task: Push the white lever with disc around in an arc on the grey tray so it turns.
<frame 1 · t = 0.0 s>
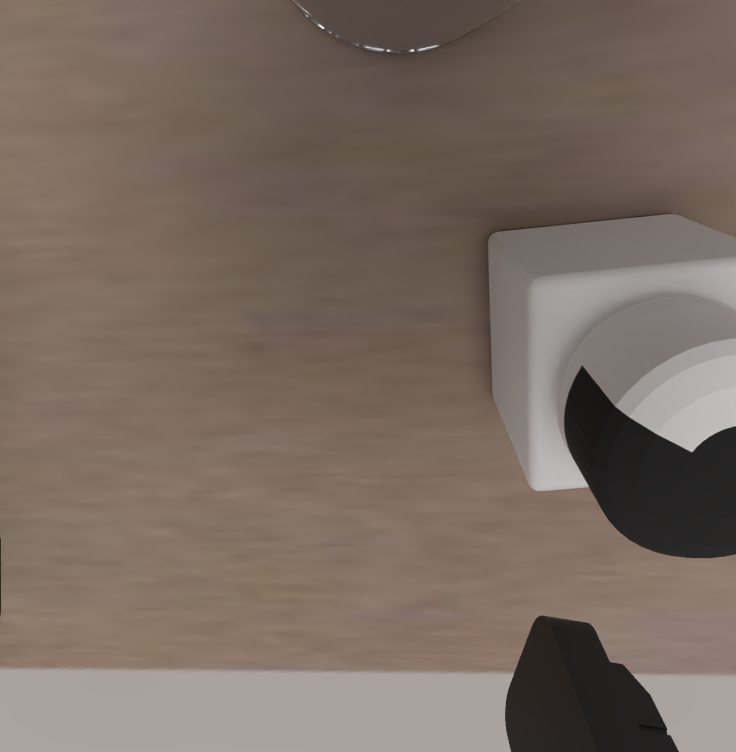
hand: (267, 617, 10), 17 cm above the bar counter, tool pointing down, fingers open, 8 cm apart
medicine bottle: (577, 309, 26), on the bar counter
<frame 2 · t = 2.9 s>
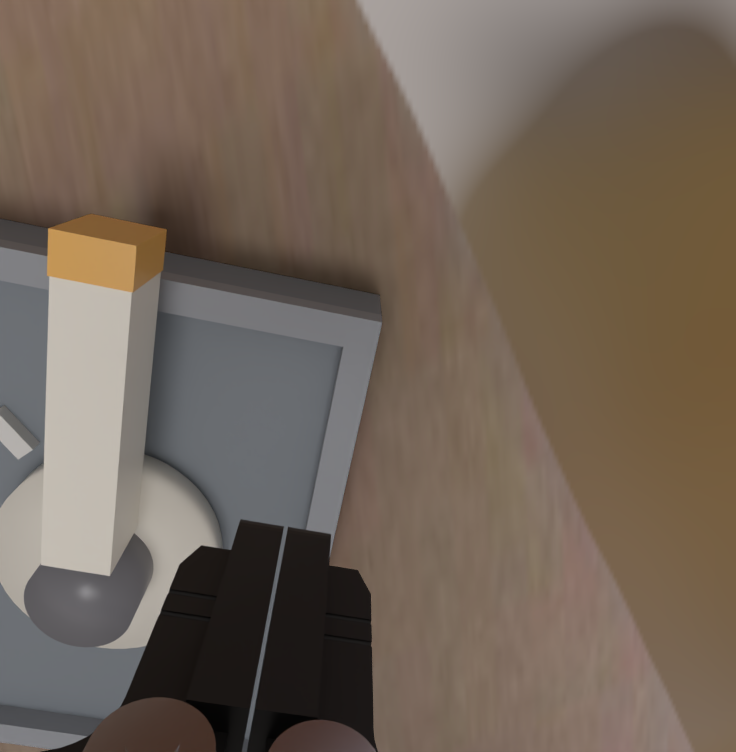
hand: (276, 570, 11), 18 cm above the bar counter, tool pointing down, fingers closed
grey tray: (140, 500, 31), on the bar counter
white lever with disc: (103, 472, 24), point 5 cm above the bar counter, hinge at 0.0°
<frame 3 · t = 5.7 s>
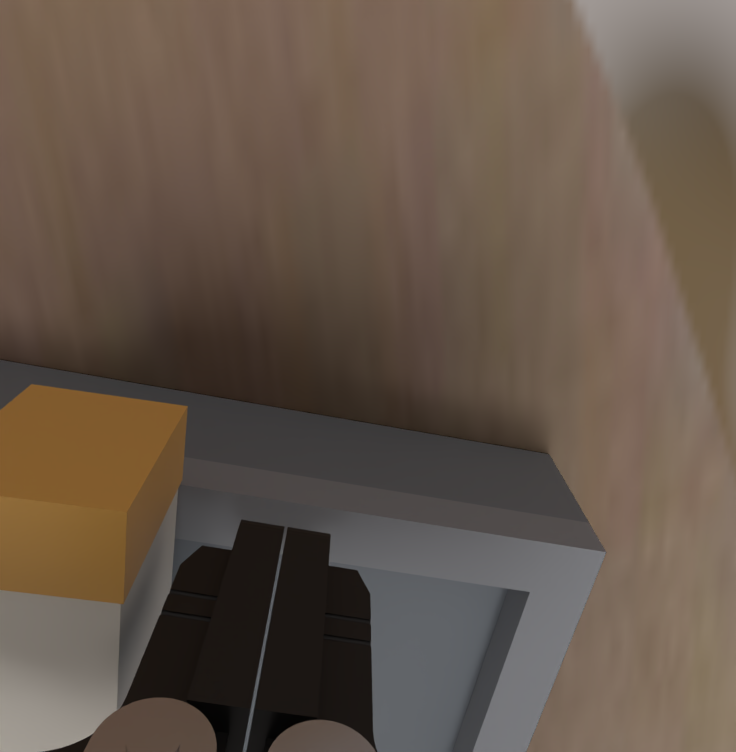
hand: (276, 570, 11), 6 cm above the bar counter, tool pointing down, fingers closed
grey tray: (152, 746, 20), on the bar counter
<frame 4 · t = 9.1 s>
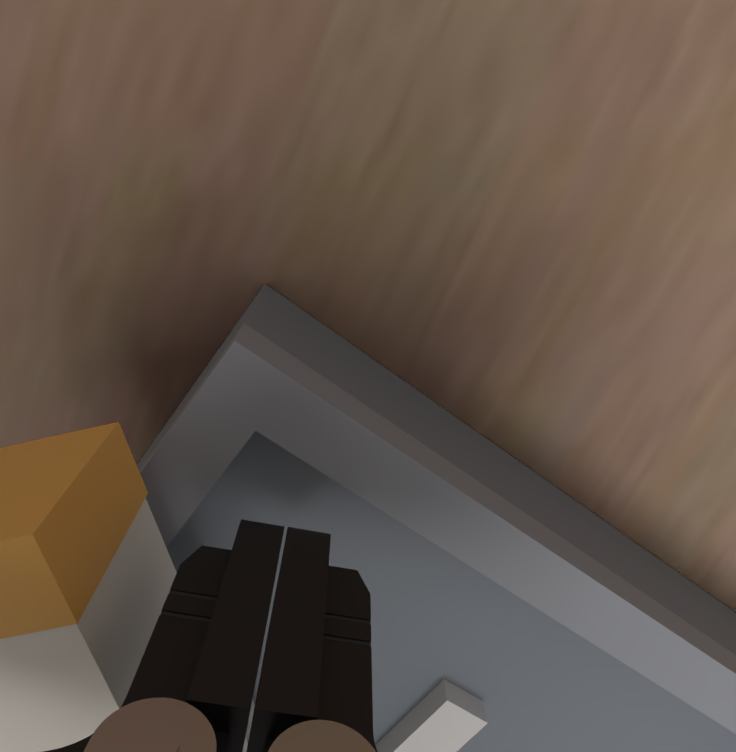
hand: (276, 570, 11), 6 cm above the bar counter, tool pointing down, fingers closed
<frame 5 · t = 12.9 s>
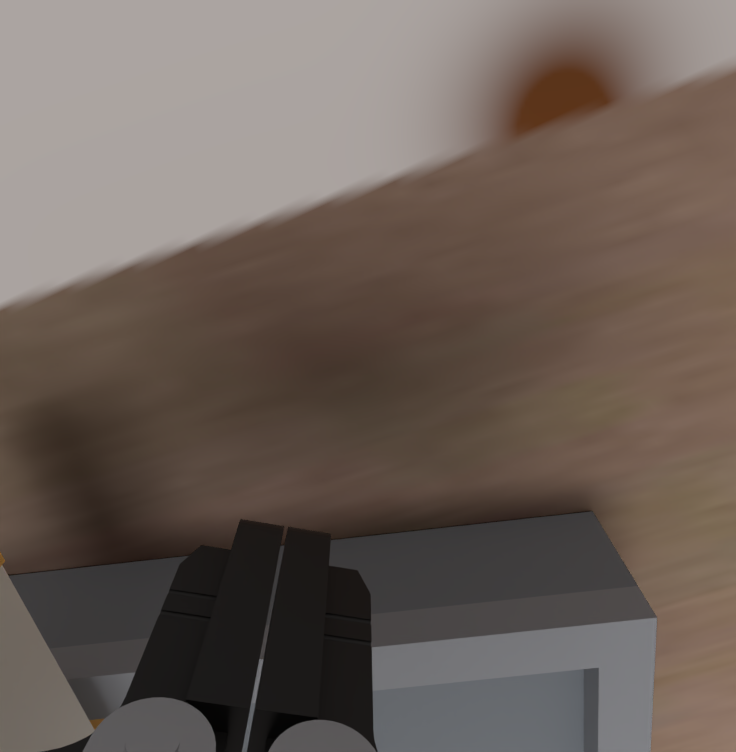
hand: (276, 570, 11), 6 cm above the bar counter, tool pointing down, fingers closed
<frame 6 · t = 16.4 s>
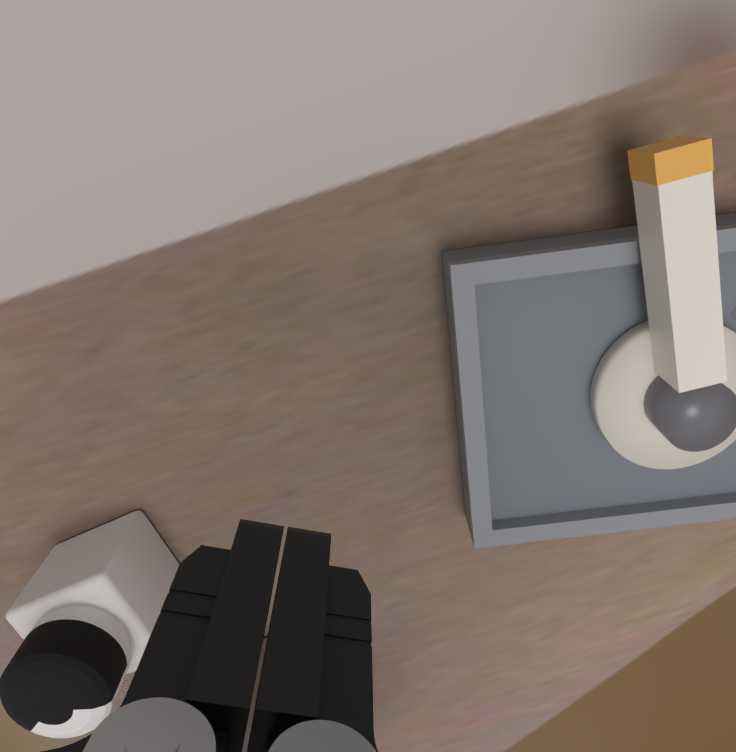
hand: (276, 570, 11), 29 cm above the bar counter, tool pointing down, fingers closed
grey tray: (645, 368, 41), on the bar counter
white lever with disc: (678, 324, 34), point 5 cm above the bar counter, hinge at 97.6°
medicine bottle: (126, 562, 46), on the bar counter
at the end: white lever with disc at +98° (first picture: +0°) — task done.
